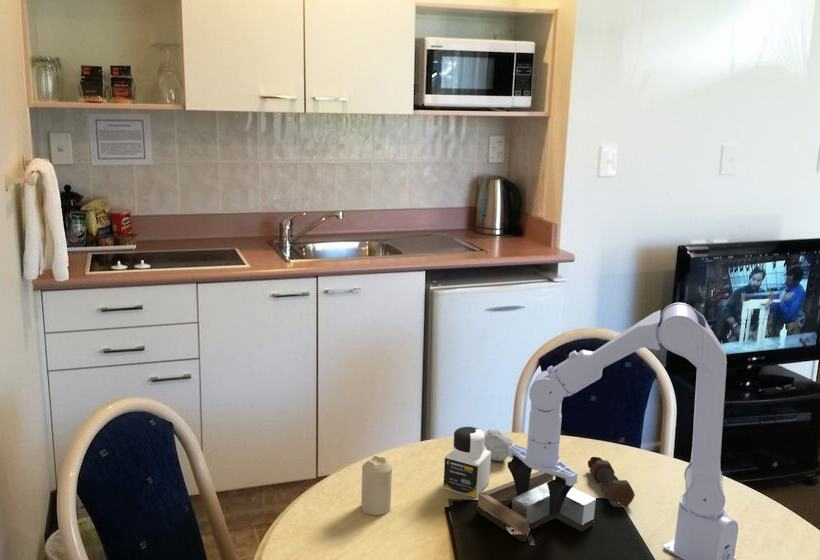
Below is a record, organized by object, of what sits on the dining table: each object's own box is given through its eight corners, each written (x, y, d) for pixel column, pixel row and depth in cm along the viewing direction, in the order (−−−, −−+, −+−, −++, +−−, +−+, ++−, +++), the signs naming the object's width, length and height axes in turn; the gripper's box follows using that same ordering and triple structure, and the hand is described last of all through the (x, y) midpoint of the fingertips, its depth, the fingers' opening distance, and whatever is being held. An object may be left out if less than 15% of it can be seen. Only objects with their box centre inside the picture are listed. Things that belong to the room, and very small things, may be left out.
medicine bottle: (442, 488, 153) (445, 433, 150) (457, 474, 159) (460, 420, 156) (475, 498, 150) (479, 441, 147) (489, 483, 156) (493, 428, 153)
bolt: (596, 478, 164) (623, 514, 149) (577, 468, 163) (602, 502, 148) (611, 456, 163) (639, 489, 148) (592, 445, 162) (619, 477, 147)
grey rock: (476, 455, 168) (478, 425, 166) (506, 452, 170) (508, 423, 168) (486, 468, 162) (488, 437, 161) (517, 465, 164) (519, 434, 163)
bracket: (551, 549, 134) (554, 520, 133) (510, 525, 141) (512, 498, 140) (592, 526, 142) (595, 499, 140) (552, 504, 149) (554, 478, 147)
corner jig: (594, 511, 147) (596, 492, 146) (523, 543, 135) (524, 522, 134) (547, 485, 156) (549, 467, 155) (477, 513, 145) (478, 493, 144)
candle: (364, 517, 142) (365, 467, 139) (358, 502, 147) (359, 454, 145) (393, 514, 143) (395, 464, 141) (386, 499, 148) (388, 451, 146)
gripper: (590, 445, 136) (583, 514, 140) (527, 418, 147) (522, 483, 150) (565, 456, 132) (559, 527, 135) (502, 427, 142) (497, 494, 146)
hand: (538, 505), depth 142 cm, fingers open, 7 cm apart
